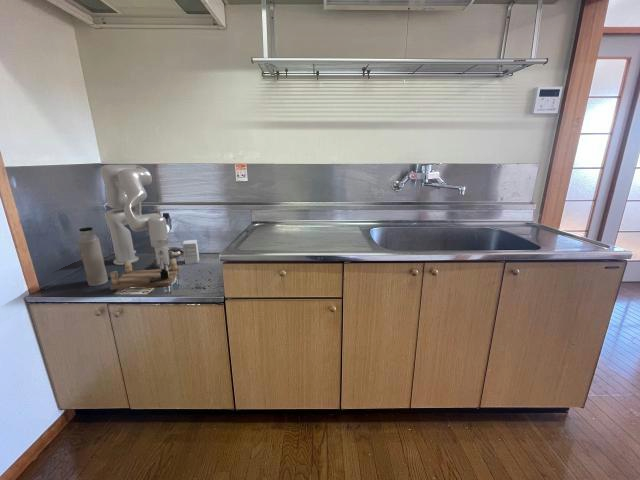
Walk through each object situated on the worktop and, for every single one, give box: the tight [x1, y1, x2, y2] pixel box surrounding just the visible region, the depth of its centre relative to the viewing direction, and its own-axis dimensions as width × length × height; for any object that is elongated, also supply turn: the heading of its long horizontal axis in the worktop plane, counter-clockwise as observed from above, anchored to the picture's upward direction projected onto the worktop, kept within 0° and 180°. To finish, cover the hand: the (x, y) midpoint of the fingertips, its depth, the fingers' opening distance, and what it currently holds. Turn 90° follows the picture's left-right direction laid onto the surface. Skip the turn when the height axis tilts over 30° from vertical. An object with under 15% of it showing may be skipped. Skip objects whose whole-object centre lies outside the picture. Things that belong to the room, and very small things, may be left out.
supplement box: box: [182, 239, 200, 265], centre depth 168 cm, size 7×7×13 cm
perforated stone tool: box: [153, 249, 174, 268], centre depth 165 cm, size 15×5×7 cm, turn 170°
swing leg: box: [149, 265, 169, 282], centre depth 139 cm, size 9×3×6 cm, turn 129°
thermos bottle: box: [77, 226, 109, 287], centre depth 138 cm, size 8×8×28 cm
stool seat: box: [109, 258, 181, 291], centre depth 144 cm, size 18×26×8 cm
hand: (165, 276), depth 142 cm, fingers open, 3 cm apart
